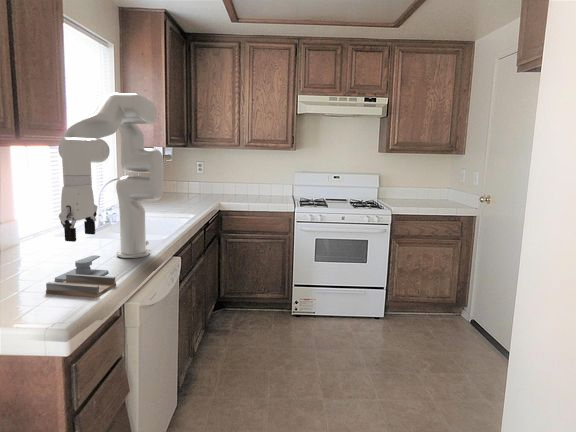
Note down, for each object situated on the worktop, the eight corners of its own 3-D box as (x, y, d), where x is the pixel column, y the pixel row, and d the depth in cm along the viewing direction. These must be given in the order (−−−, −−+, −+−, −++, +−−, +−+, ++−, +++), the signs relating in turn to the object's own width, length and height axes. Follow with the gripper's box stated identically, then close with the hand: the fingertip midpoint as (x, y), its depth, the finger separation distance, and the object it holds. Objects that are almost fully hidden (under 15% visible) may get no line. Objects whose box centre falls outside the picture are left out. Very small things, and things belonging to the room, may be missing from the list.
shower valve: (113, 255, 151) (88, 267, 137) (113, 270, 152) (89, 283, 138) (80, 253, 153) (52, 264, 138) (80, 268, 154) (53, 281, 139)
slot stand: (69, 282, 138) (68, 273, 138) (116, 285, 136) (115, 276, 136) (45, 293, 127) (45, 283, 127) (96, 297, 126) (96, 287, 125)
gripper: (83, 177, 136) (86, 231, 139) (46, 183, 119) (50, 243, 122) (105, 179, 135) (107, 232, 138) (71, 184, 118) (74, 245, 121)
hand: (80, 237), depth 130 cm, fingers open, 9 cm apart
